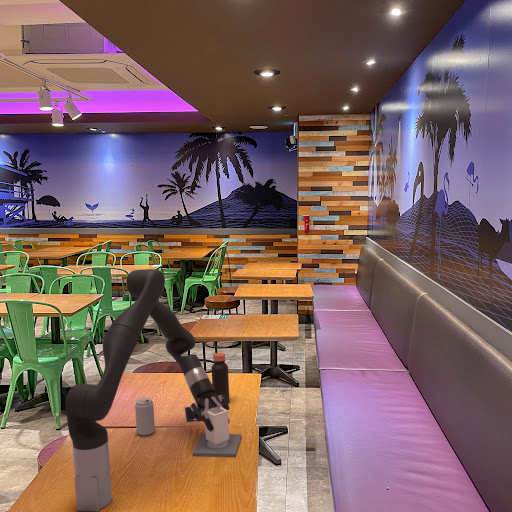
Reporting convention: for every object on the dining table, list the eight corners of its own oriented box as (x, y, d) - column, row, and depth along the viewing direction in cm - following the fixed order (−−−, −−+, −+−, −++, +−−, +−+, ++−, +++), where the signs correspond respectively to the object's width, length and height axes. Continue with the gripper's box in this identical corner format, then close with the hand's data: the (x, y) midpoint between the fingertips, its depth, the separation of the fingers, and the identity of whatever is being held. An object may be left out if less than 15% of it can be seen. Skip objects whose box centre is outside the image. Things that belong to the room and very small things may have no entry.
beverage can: (150, 437, 182) (148, 404, 180) (133, 436, 183) (131, 403, 182) (157, 429, 188) (155, 397, 187) (141, 428, 189) (139, 396, 188)
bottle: (214, 406, 207) (212, 357, 205) (211, 400, 214) (209, 353, 212) (231, 404, 209) (229, 355, 207) (227, 398, 215) (225, 351, 213)
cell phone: (186, 423, 193) (186, 421, 193) (184, 408, 207) (184, 407, 207) (206, 421, 194) (206, 419, 194) (203, 406, 208) (203, 405, 208)
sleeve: (229, 439, 172) (227, 410, 171) (215, 444, 169) (213, 415, 168) (219, 433, 177) (218, 405, 176) (205, 438, 173) (204, 410, 172)
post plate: (235, 456, 165) (234, 436, 165) (192, 455, 167) (191, 435, 166) (241, 437, 179) (240, 417, 178) (202, 436, 181) (201, 417, 180)
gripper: (184, 383, 172) (205, 429, 164) (220, 373, 181) (241, 416, 173) (177, 394, 177) (197, 439, 169) (212, 383, 186) (233, 426, 178)
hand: (219, 427), depth 171 cm, fingers closed on sleeve, 5 cm apart
